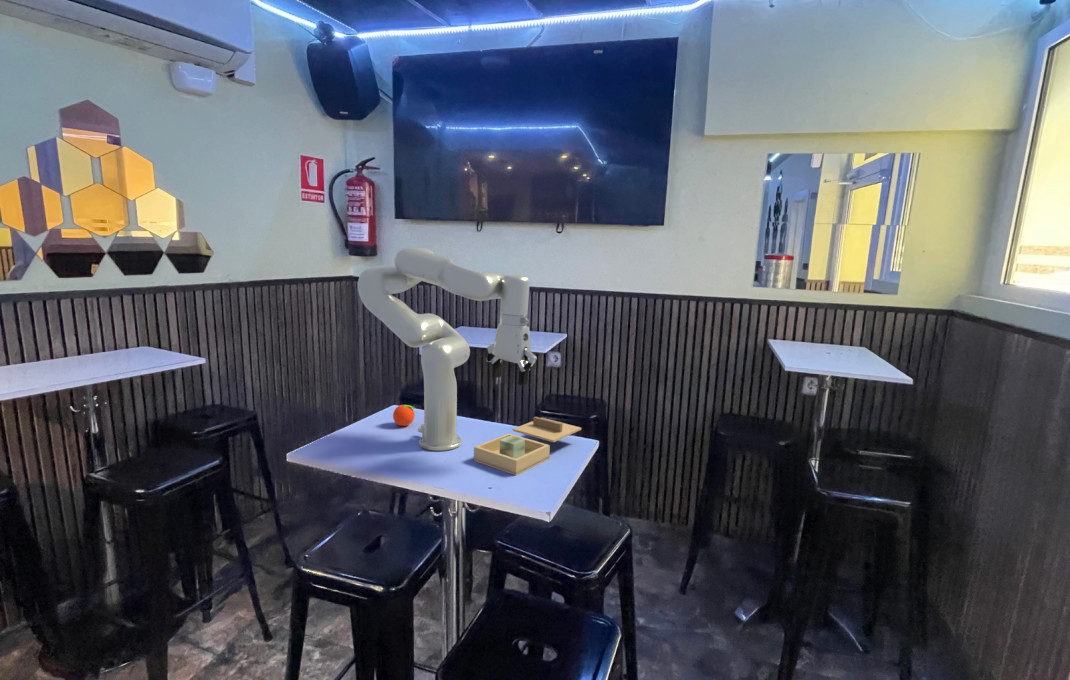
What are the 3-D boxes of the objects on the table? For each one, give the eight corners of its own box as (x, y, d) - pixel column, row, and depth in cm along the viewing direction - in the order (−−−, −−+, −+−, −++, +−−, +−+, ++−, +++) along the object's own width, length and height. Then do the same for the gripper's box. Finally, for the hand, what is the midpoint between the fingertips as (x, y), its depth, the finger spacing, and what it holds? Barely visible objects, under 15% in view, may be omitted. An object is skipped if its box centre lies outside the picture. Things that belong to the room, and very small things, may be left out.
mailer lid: (512, 430, 157) (512, 420, 156) (541, 419, 169) (542, 410, 168) (553, 442, 148) (554, 432, 148) (581, 429, 160) (581, 419, 160)
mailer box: (473, 460, 144) (474, 446, 144) (508, 446, 156) (508, 433, 156) (516, 475, 135) (516, 460, 135) (549, 458, 147) (549, 445, 147)
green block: (499, 457, 145) (499, 440, 144) (510, 452, 149) (511, 435, 148) (513, 461, 142) (513, 444, 141) (524, 456, 146) (525, 439, 145)
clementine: (420, 422, 175) (420, 402, 174) (415, 429, 168) (415, 408, 167) (396, 421, 175) (396, 401, 174) (390, 428, 168) (390, 407, 167)
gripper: (546, 324, 141) (541, 385, 144) (499, 315, 151) (496, 372, 154) (528, 326, 135) (524, 389, 138) (481, 317, 145) (478, 376, 148)
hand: (509, 380), depth 146 cm, fingers open, 9 cm apart
